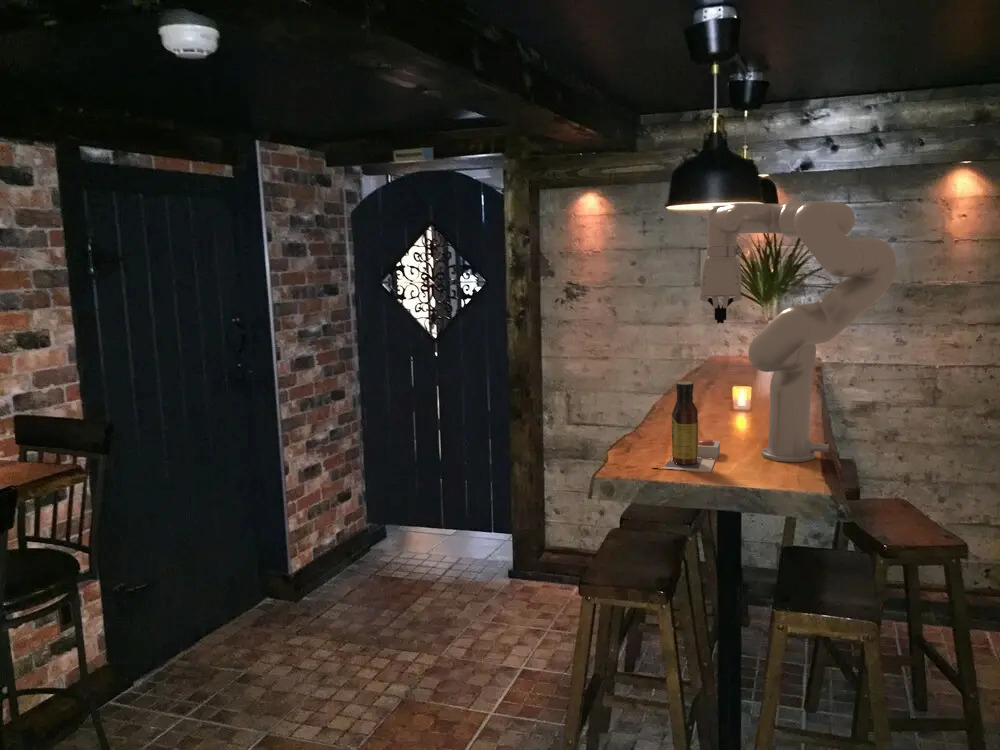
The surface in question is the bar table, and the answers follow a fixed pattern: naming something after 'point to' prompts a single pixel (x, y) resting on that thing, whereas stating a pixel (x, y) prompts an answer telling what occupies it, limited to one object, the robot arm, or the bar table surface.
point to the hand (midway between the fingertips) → (720, 322)
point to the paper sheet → (693, 465)
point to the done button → (705, 442)
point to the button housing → (709, 450)
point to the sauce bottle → (685, 426)
